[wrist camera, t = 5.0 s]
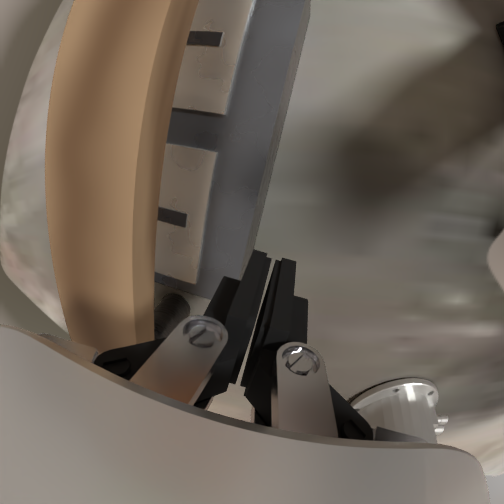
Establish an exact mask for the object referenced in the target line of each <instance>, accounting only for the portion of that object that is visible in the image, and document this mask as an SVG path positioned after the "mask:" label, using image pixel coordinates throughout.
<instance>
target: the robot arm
mask: <svg viewBox="0 0 504 504" xmlns="http://www.w3.org/2000/svg"><path fill="white" fill-rule="evenodd" d="M266 256H267V253H264V252H261V251H257V250H253V252H252V254H251V257H250V259H249V262H248V264H247V267H246V269H245V272H244V274H243V277H242V279H241V281H240V280H237V279H233V278H230V277H227V276H224V277H223V278H222V280H221V282H220V284H219V286H218V288H217V290H216V292H215V294H214V296H213V298H212V300H211V302H210V303H209V305H208V307H207V309H206V311H205V313H204V315H203V316H201V315H197V316H191V317H188V318H185V319H184V320H183V321H181V322H180V323H179V324H178V326H177V327H176V328H175V329H174V330H173V331H172V332H171V334H170V335H169V336H168V337H166V338H161V339H157V340H153V341H148V342H144V343H139V344H135V345H130V346H125V347H121V348H116V349H111V350H108V351H105V352H103V353H100V352H98V351H97V348H94V347H90V346H86V345H83V344H79V343H76V342H72V341H69V340H66V339H63V338H59V337H56V336H53V335H50V334H45V333H42V334H35V333H33V332H30V331H27V330H24V329H21V328H18V327H13V326H9V325H4V324H0V504H490V498H489V491H488V486H487V482H486V478H485V475H484V472H483V469H482V466H481V464H480V462H479V461H478V460H477V459H476V458H475V457H474V456H473V455H471V454H470V453H468V452H466V451H464V450H461V449H458V448H455V447H452V446H447V445H442V444H438V443H437V439H436V435H440V434H442V432H443V430H444V424H446V423H447V421H448V416H447V415H439V416H437V415H436V411H435V406H436V404H437V401H438V392H437V388H436V386H435V385H434V384H433V383H432V382H430V381H428V380H425V379H419V378H406V379H399V380H395V381H391V382H387V383H384V384H382V385H379V386H376V387H374V388H372V389H370V390H368V391H366V392H365V393H363V394H361V395H360V396H359V397H357V398H356V399H355V400H354V401H353V402H352V403H351V404H349V403H348V402H347V401H346V400H345V399H344V398H343V397H342V396H341V395H340V394H339V393H338V392H337V391H336V390H335V389H334V388H333V387H332V386H331V385H330V384H329V382H328V376H327V371H326V366H325V362H324V359H323V357H322V356H321V354H320V353H319V352H318V351H317V350H316V349H314V348H313V347H311V346H309V345H307V322H308V300H307V299H305V298H301V297H297V296H294V285H295V272H296V261H292V260H289V259H285V258H282V260H281V261H279V260H276V261H275V264H274V268H273V271H272V274H271V277H270V281H269V284H268V287H267V290H266V294H265V297H264V300H263V303H262V306H261V310H260V313H259V316H258V320H257V323H256V327H255V331H254V335H253V339H252V343H251V347H250V350H249V354H248V358H247V362H246V366H245V369H244V373H243V377H242V381H241V384H240V386H243V387H246V389H245V393H244V396H246V398H247V399H248V400H249V402H250V403H251V404H252V409H251V423H250V422H246V421H242V420H238V419H234V418H231V417H227V416H223V415H220V414H217V413H213V412H210V411H207V410H208V408H209V406H210V404H211V403H212V401H213V398H214V396H215V395H218V394H221V393H223V392H226V391H227V388H228V385H229V383H232V384H236V381H237V378H238V375H239V372H240V369H241V366H242V362H243V359H244V356H245V353H246V350H247V347H248V344H249V341H250V338H251V335H252V331H253V328H254V325H255V321H256V318H257V314H258V310H259V306H260V303H261V299H262V295H263V291H264V287H265V283H266V279H267V275H268V271H269V267H270V263H271V259H272V258H268V257H266Z"/></svg>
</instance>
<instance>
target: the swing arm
mask: <svg viewBox="0 0 504 504" xmlns="http://www.w3.org/2000/svg"><path fill="white" fill-rule="evenodd" d="M198 3H199V0H74V2H73V5H72V8H71V11H70V14H69V17H68V20H67V23H66V26H65V30H64V33H63V37H62V40H61V44H60V48H59V52H58V56H57V61H56V66H55V71H54V76H53V81H52V87H51V94H50V101H49V109H48V119H47V131H46V149H45V191H46V209H47V222H48V231H49V240H50V247H51V254H52V261H53V267H54V272H55V278H56V283H57V288H58V292H59V297H60V301H61V305H62V309H63V313H64V317H65V321H66V324H67V328H68V331H69V335H70V338H71V341H72V342H76V343H79V344H83V345H86V346H90V347H94V348H97V351H98V352H100V353H103V352H105V351H108V350H111V349H116V348H121V347H125V346H130V345H135V344H139V343H144V342H148V341H153V340H154V272H155V248H156V232H157V218H158V207H159V196H160V187H161V178H162V170H163V162H164V154H165V147H166V141H167V134H168V128H169V122H170V117H171V111H172V106H173V101H174V95H175V91H176V86H177V81H178V77H179V72H180V68H181V63H182V59H183V55H184V51H185V47H186V44H187V40H188V36H189V32H190V29H191V25H192V22H193V19H194V15H195V12H196V9H197V6H198Z"/></svg>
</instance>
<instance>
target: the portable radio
mask: <svg viewBox="0 0 504 504" xmlns="http://www.w3.org/2000/svg"><path fill="white" fill-rule="evenodd" d="M496 29H497V31H498V33H499V35H500V37H501V40H502V42H503V44H504V21H503V22H500V23H498V24H497V25H496Z"/></svg>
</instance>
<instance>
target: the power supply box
mask: <svg viewBox="0 0 504 504" xmlns="http://www.w3.org/2000/svg"><path fill="white" fill-rule="evenodd" d="M310 1H311V0H199V3H198V6H197V9H196V12H195V15H194V19H193V22H192V25H191V29H190V32H189V36H188V40H187V44H186V47H185V51H184V55H183V59H182V63H181V68H180V72H179V77H178V81H177V86H176V91H175V95H174V101H173V106H172V111H171V117H170V122H169V128H168V134H167V141H166V147H165V154H164V162H163V170H162V178H161V187H160V196H159V207H158V218H157V232H156V248H155V272H154V281H155V282H158V283H161V284H164V285H167V286H170V287H173V288H176V289H179V290H182V291H185V292H188V293H191V294H194V295H197V296H201V297H204V298H207V299H210V300H212V298H213V296H214V294H215V292H216V290H217V288H218V286H219V284H220V282H221V280H222V278H223V277H224V276H227V277H230V278H233V279H237V280H240V281H241V279H242V277H243V274H244V272H245V269H246V267H247V264H248V262H249V259H250V257H251V254H252V252H253V249H254V245H255V240H256V236H257V232H258V228H259V224H260V220H261V216H262V212H263V208H264V204H265V199H266V195H267V191H268V187H269V183H270V179H271V175H272V171H273V167H274V162H275V158H276V154H277V150H278V146H279V142H280V138H281V134H282V130H283V125H284V121H285V117H286V113H287V109H288V105H289V101H290V97H291V93H292V88H293V84H294V80H295V76H296V72H297V68H298V64H299V60H300V55H301V51H302V47H303V43H304V39H305V35H306V31H307V27H308V22H309V18H310Z"/></svg>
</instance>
